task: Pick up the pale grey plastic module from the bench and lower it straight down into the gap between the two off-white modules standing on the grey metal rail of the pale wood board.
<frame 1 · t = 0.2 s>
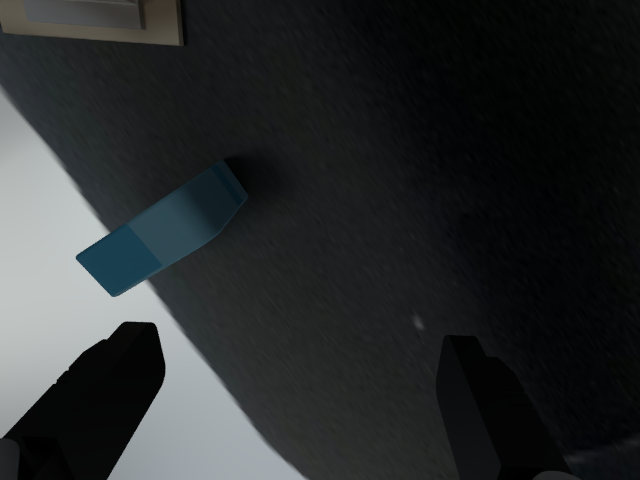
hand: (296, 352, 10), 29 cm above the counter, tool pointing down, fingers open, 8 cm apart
data package: (196, 202, 39), on the counter
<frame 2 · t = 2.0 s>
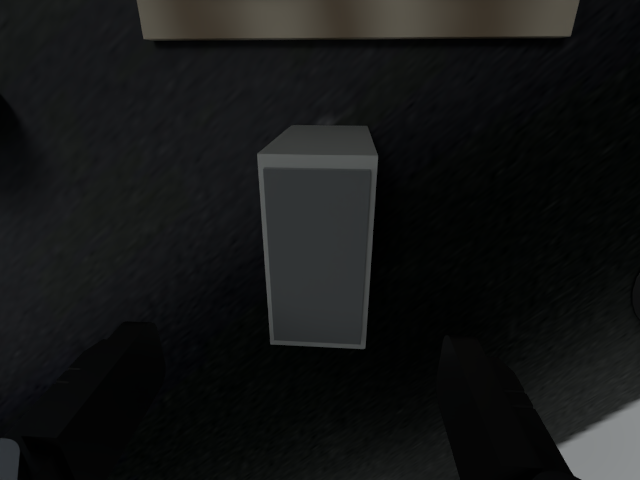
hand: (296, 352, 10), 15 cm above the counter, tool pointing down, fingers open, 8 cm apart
module: (328, 197, 23), on the counter
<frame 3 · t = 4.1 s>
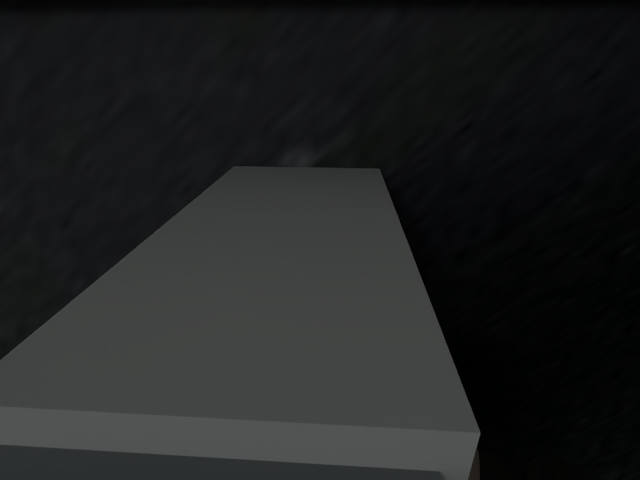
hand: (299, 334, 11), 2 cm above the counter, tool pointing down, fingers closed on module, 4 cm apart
module: (307, 291, 13), on the counter, touching gripper
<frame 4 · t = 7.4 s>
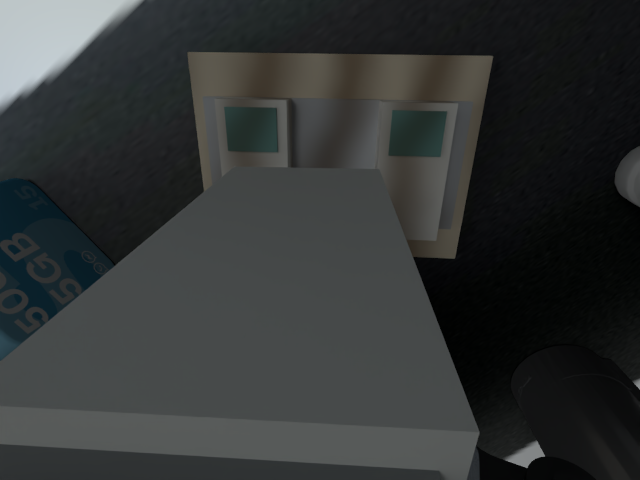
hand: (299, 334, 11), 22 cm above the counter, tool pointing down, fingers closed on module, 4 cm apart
rail board: (333, 162, 30), on the counter
module: (307, 291, 13), point 19 cm above the counter, touching gripper
data package: (64, 235, 35), on the counter
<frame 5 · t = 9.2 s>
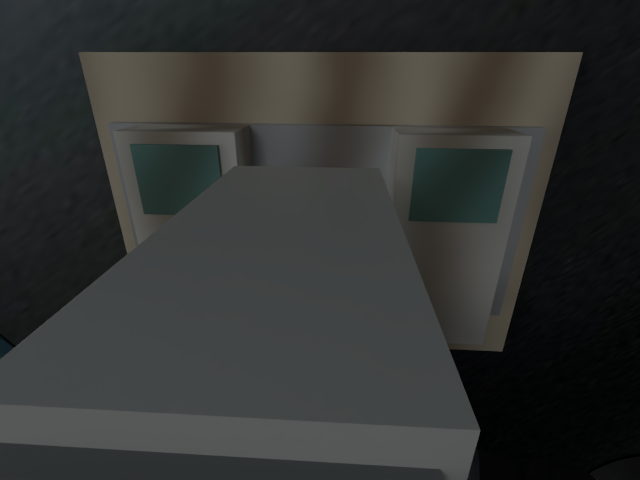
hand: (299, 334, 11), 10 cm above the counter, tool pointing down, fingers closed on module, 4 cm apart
rail board: (321, 216, 20), on the counter
module: (307, 291, 13), point 8 cm above the counter, touching gripper
when the fingers open (5 cm above the counter, at t = 10.9 s): module drops 1 cm, resting on rail board.
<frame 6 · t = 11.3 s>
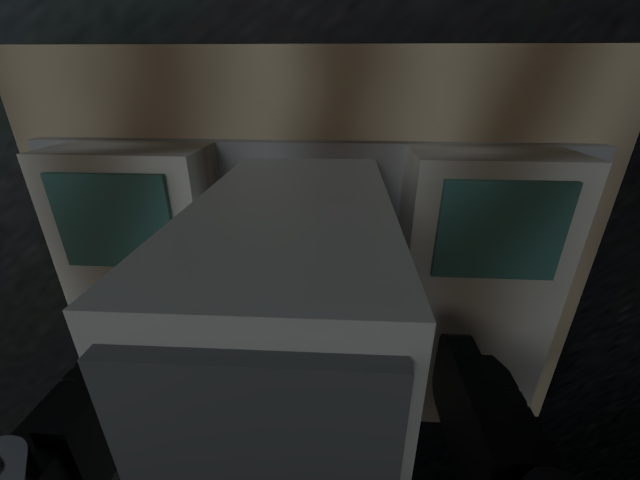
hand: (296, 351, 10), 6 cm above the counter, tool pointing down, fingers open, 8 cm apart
rail board: (313, 253, 16), on the counter
module: (311, 272, 14), point 2 cm above the counter, touching rail board
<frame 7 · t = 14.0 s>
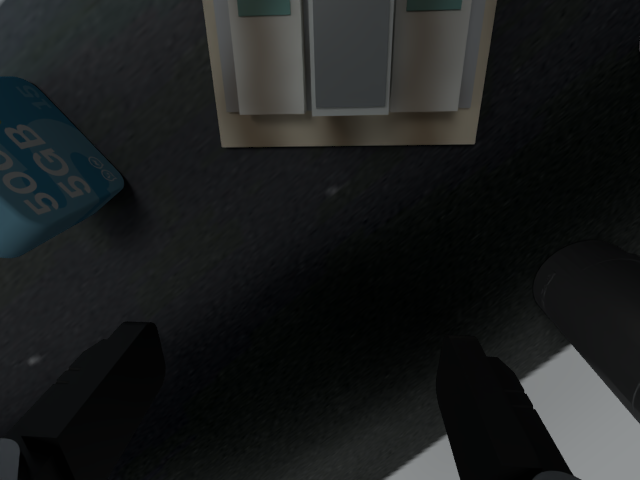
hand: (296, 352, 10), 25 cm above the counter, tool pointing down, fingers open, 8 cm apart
rail board: (346, 42, 29), on the counter
module: (347, 41, 28), point 2 cm above the counter, touching rail board
data package: (69, 146, 34), on the counter
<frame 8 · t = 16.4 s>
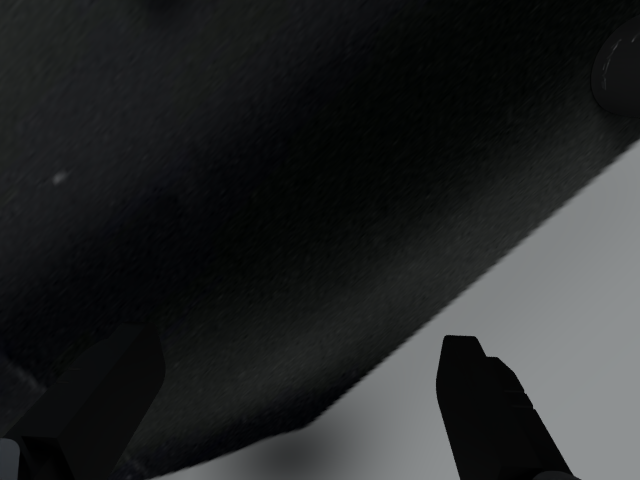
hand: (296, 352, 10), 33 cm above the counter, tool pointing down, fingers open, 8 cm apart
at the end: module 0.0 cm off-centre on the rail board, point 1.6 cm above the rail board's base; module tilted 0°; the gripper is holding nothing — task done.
